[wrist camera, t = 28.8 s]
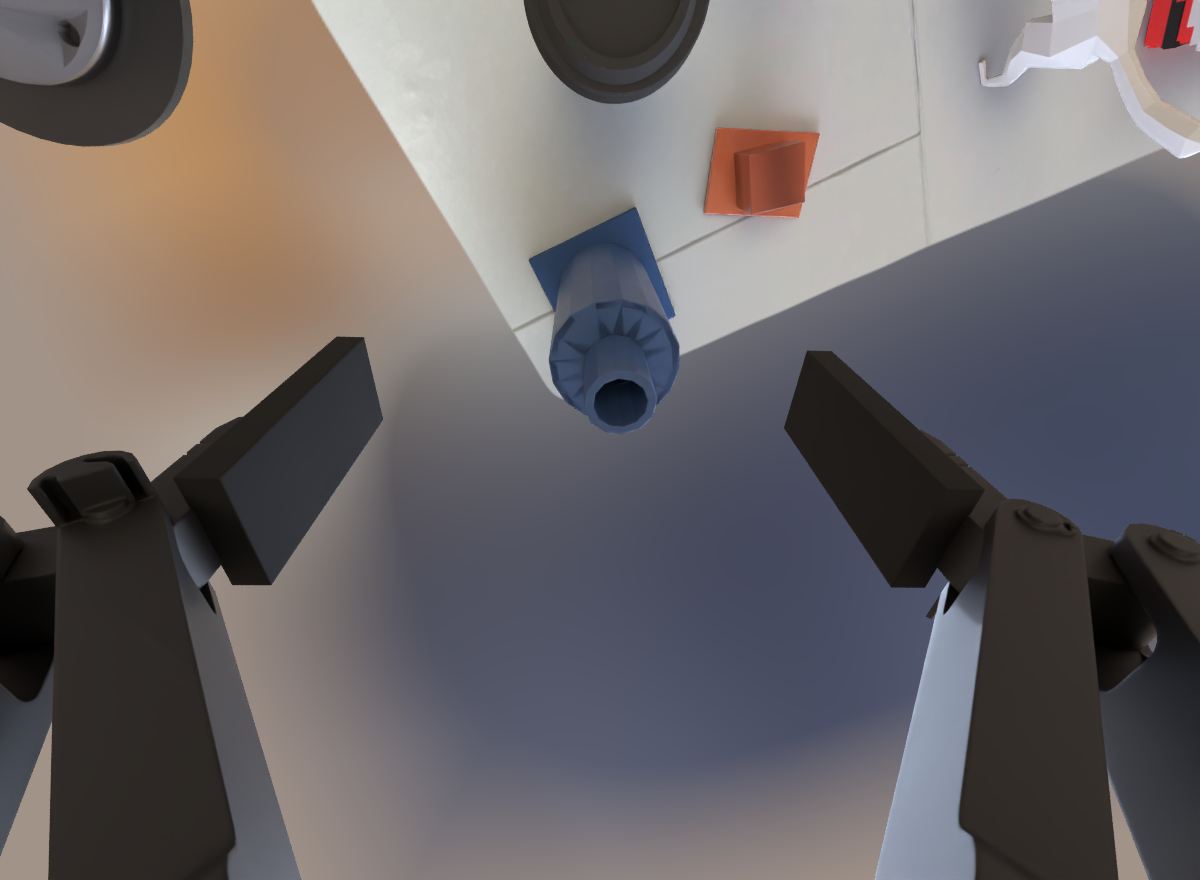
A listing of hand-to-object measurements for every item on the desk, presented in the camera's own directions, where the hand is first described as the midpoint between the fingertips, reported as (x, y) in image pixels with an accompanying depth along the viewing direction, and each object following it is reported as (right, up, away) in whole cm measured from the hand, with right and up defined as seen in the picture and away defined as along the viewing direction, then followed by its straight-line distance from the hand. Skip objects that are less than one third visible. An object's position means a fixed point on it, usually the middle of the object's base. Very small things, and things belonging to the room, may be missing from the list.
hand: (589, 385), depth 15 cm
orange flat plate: (+13, +20, +24) cm, 34 cm away
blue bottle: (+1, +12, +28) cm, 31 cm away
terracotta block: (+13, +19, +24) cm, 33 cm away
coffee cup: (+1, +27, +19) cm, 33 cm away
